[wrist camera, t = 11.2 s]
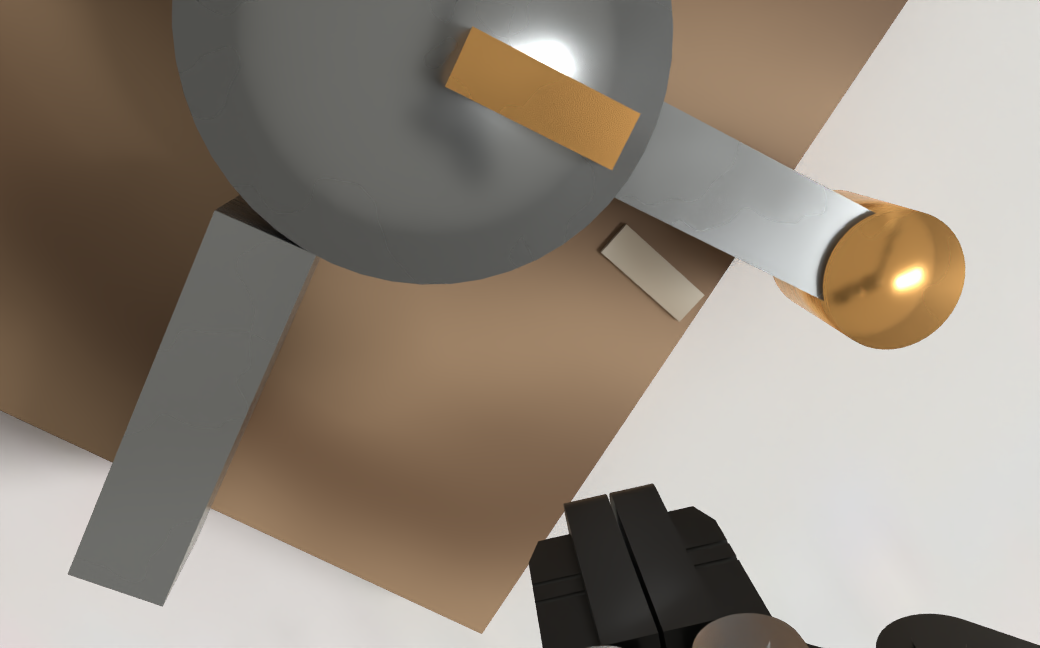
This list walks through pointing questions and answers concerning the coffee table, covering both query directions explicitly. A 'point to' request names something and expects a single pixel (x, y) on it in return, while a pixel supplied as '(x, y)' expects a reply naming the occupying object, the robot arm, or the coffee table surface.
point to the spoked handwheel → (451, 206)
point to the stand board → (368, 298)
